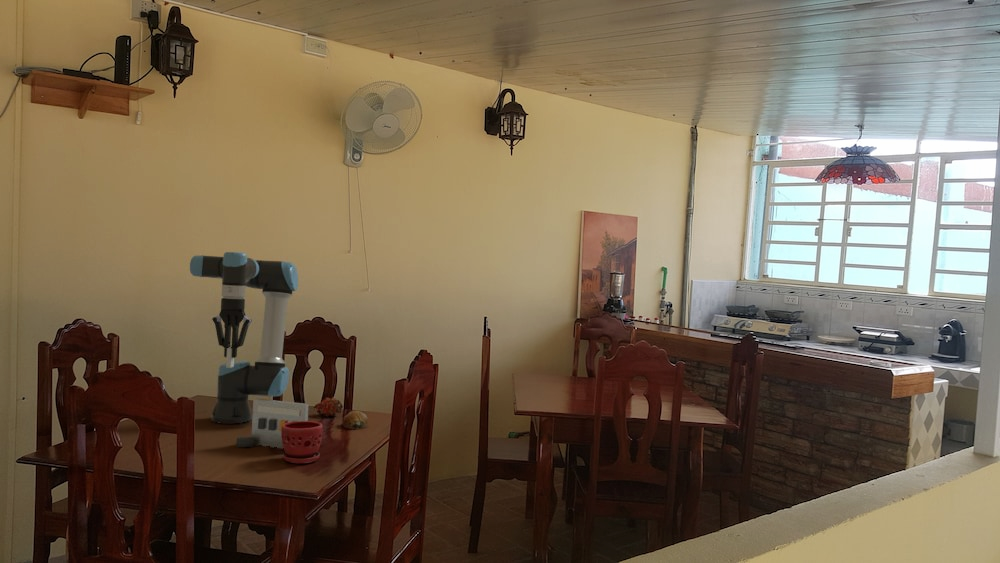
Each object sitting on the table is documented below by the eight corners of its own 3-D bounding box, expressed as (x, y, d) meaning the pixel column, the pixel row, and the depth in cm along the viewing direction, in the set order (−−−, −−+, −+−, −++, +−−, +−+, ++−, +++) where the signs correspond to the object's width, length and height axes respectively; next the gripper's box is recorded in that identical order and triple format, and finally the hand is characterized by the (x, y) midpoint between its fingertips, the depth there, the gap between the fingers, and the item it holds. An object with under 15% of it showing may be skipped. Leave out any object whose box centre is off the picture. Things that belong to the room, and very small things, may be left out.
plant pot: (327, 456, 243) (329, 421, 242) (310, 467, 230) (312, 430, 229) (291, 452, 245) (292, 418, 244) (272, 463, 232) (274, 426, 231)
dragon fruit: (344, 420, 303) (315, 423, 302) (345, 405, 309) (317, 408, 309) (340, 407, 297) (311, 409, 297) (342, 392, 304) (313, 394, 303)
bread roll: (368, 434, 290) (372, 415, 293) (363, 429, 281) (366, 409, 284) (345, 432, 291) (348, 413, 294) (338, 427, 282) (342, 407, 285)
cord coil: (232, 446, 248) (233, 439, 248) (242, 442, 254) (242, 435, 254) (248, 448, 247) (248, 441, 246) (257, 444, 252) (258, 437, 252)
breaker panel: (249, 445, 251) (251, 400, 250) (254, 443, 254) (256, 398, 253) (301, 451, 247) (304, 405, 246) (306, 449, 250) (308, 404, 249)
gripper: (209, 297, 239) (206, 367, 239) (247, 299, 238) (244, 370, 239) (218, 296, 246) (215, 364, 247) (256, 298, 246) (253, 366, 247)
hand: (229, 367), depth 243 cm, fingers closed
